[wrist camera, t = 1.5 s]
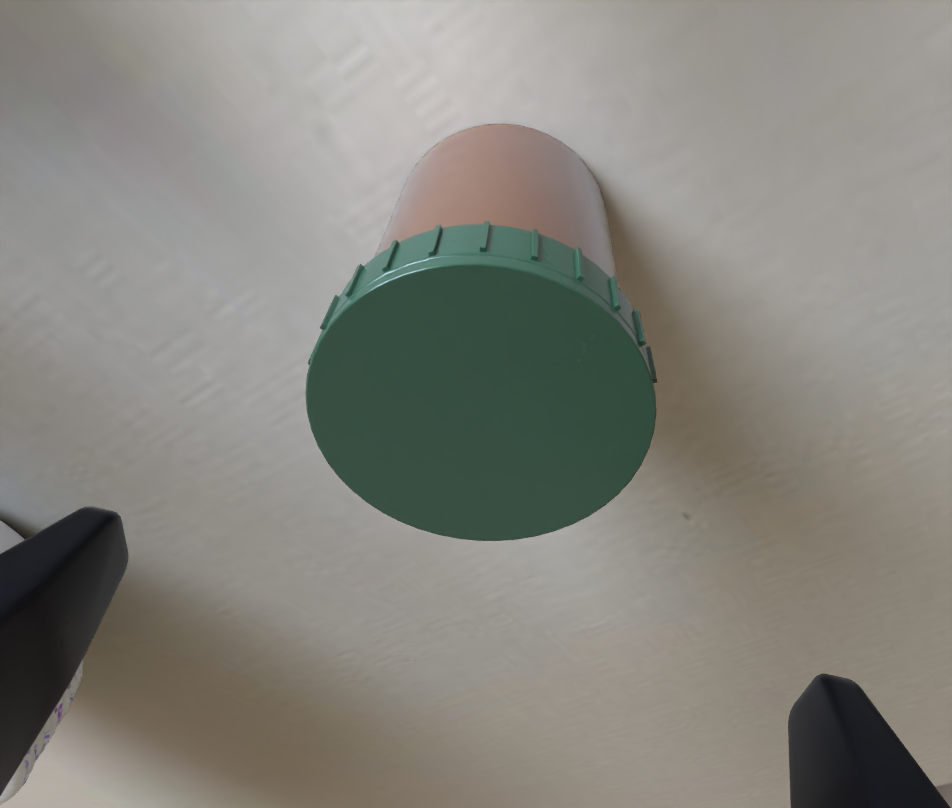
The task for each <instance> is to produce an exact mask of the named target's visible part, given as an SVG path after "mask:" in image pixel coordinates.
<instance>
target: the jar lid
mask: <svg viewBox="0 0 952 808" xmlns="http://www.w3.org/2000/svg"><path fill="white" fill-rule="evenodd" d="M320 328H321V329H323V330H322V333H321V335H320V337H319V339H318V341H317V343H316V346H315V348H314V350H313V352H312V354H311V357H310V359H309V362H308V364H309V365H310V366H309V370H308V374H307V382H306V405H307V414H308V418H309V422H310V426H311V430H312V432H313V435H314V437H315V440H316V442H317V445H318V447H319V449H320V450H321V452H322V454H323V455H324V457H325V459H326V461H327V462H328V464H329V465H330V466H331V467H332V469H333V470H334V471H335V473H336V474H337V475H338V477H339V478H340V479H341V480H342V481H343V482H344V483H345V484H346V485H347V486H348V487H349V488H350V489H351V490H352V491H353V492H355V493H356V494H357V495H358V496H360V497H361V498H362V499H363V500H365V501H366V502H367V503H369V504H370V505H372V506H373V507H375V508H376V509H378V510H380V511H381V512H383V513H385V514H386V515H388V516H390V517H392V518H394V519H396V520H398V521H400V522H403V523H405V524H408V525H410V526H413V527H415V528H418V529H421V530H424V531H427V532H431V533H434V534H438V535H443V536H448V537H453V538H458V539H468V540H478V541H501V540H515V539H522V538H528V537H534V536H538V535H542V534H546V533H549V532H553V531H556V530H559V529H561V528H564V527H567V526H569V525H572V524H574V523H576V522H578V521H580V520H582V519H584V518H586V517H588V516H590V515H591V514H593V513H594V512H596V511H597V510H599V509H600V508H602V507H603V506H605V505H606V504H607V503H608V502H610V501H611V500H612V499H613V498H614V497H615V496H617V495H618V494H619V493H620V492H621V491H622V490H623V488H624V487H625V486H626V485H627V484H628V483H629V482H630V481H631V479H632V478H633V476H634V475H635V473H636V472H637V470H638V469H639V467H640V466H641V464H642V462H643V460H644V458H645V456H646V454H647V452H648V449H649V447H650V443H651V440H652V437H653V433H654V428H655V419H656V397H655V390H654V385H653V383H657V377H656V372H655V367H654V362H653V358H652V353H651V348H650V346H649V347H646V341H645V336H644V331H643V325H642V320H641V315H640V312H639V310H636V311H634V310H633V308H632V306H631V304H630V303H629V301H628V299H627V298H626V296H625V294H624V293H623V292H622V291H621V290H620V288H619V287H618V283H617V278H616V277H615V276H614V275H613V276H612V277H611V278H610V277H609V276H608V275H607V274H606V273H605V272H604V271H603V270H602V269H601V268H600V267H599V266H597V265H596V264H595V263H594V262H592V261H591V260H589V259H588V258H587V257H585V256H584V255H583V254H582V249H580V248H578V247H577V249H576V250H574V249H572V248H571V247H569V246H567V245H565V244H563V243H561V242H559V241H557V240H554V239H552V238H549V237H546V236H543V235H541V234H538V230H537V229H534V228H533V230H532V231H527V230H524V229H519V228H514V227H509V226H499V225H490V221H484V224H474V225H458V226H451V227H444V228H442V226H441V225H436V226H435V229H434V230H431V231H428V232H424V233H421V234H417V235H415V236H412V237H410V238H407V239H405V240H403V241H401V242H398V241H397V239H396V240H394V241H392V243H391V246H390V248H388V249H386V250H385V251H383V252H381V253H380V254H378V255H377V256H376V257H375V258H373V259H372V260H371V261H370V262H368V263H367V264H366V265H365V266H362V265H361V264H360V265H359V266H358V267H357V269H356V271H355V273H354V275H353V278H352V279H351V281H350V282H349V283H348V284H347V286H346V288H345V289H344V291H343V292H342V294H341V295H340V297H338V296H336V295H335V297H334V299H333V301H332V303H331V305H330V307H329V310H328V312H327V314H326V316H325V318H324V320H323V322H322V325H321V327H320Z"/></svg>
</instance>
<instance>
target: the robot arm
mask: <svg viewBox="0 0 952 808" xmlns="http://www.w3.org/2000/svg"><path fill="white" fill-rule="evenodd" d="M127 564H128V548H127V544H126V539H125V534H124V529H123V524H122V520H121V517H120V516H119V515H118V514H117V513H116V512H114V511H109V510H105V509H101V508H96V507H84V508H81V509H79V510H77V511H75V512H73V513H72V514H70V515H68V516H66V517H65V518H63V519H61V520H59V521H58V522H56V523H54V524H52V525H50V526H49V527H47V528H45V529H43V530H42V531H40V532H38V533H36V534H34V535H33V536H31V537H29V538H27V539H26V540H24V541H22V542H20V543H19V544H17V545H15V546H13V547H11V548H10V549H8V550H6V551H4V552H3V553H1V554H0V796H1V794H2V793H3V791H4V790H5V788H6V786H7V785H8V783H9V782H10V780H11V778H12V777H13V775H14V773H15V772H16V770H17V769H18V767H19V765H20V764H21V762H22V761H23V759H24V757H25V756H26V754H27V753H28V751H29V749H30V748H31V746H32V745H33V743H34V741H35V740H36V738H37V736H38V735H39V733H40V732H41V730H42V728H43V727H44V725H45V724H46V722H47V720H48V719H49V717H50V716H51V714H52V712H53V711H54V709H55V708H56V706H57V704H58V703H59V701H60V699H61V698H62V696H63V694H64V693H65V691H66V689H67V688H68V686H69V684H70V683H71V681H72V679H73V677H74V675H75V673H76V671H77V669H78V668H79V666H80V664H81V662H82V660H83V658H84V656H85V653H86V651H87V649H88V647H89V645H90V643H91V641H92V639H93V637H94V635H95V633H96V631H97V629H98V627H99V624H100V622H101V620H102V618H103V616H104V614H105V612H106V610H107V608H108V606H109V604H110V602H111V600H112V598H113V595H114V593H115V591H116V589H117V587H118V585H119V583H120V581H121V579H122V577H123V575H124V573H125V570H126V567H127ZM788 735H789V767H790V799H791V808H950V806H949V805H948V804H947V802H946V801H945V800H944V798H943V797H942V796H941V794H940V793H939V792H938V790H937V789H936V788H935V786H934V785H933V784H932V782H931V781H930V780H929V778H928V777H927V776H926V774H925V773H924V772H923V770H922V769H921V768H920V766H919V765H918V764H917V762H916V761H915V760H914V758H913V757H912V756H911V754H910V753H909V752H908V750H907V749H906V748H905V746H904V745H903V744H902V742H901V741H900V740H899V738H898V737H897V736H896V734H895V733H894V731H893V730H892V729H891V727H890V726H889V725H888V723H887V722H886V721H885V719H884V718H883V717H882V715H881V714H880V713H879V711H878V710H877V709H876V707H875V706H874V705H873V703H872V702H871V701H870V699H869V698H868V697H867V695H866V694H865V693H864V691H863V690H862V689H861V688H860V686H859V685H858V684H856V683H855V682H854V681H852V680H850V679H847V678H842V677H838V676H834V675H829V674H820V675H818V676H816V677H815V678H814V679H813V681H812V682H811V683H810V684H809V686H808V687H807V688H806V690H805V691H804V692H803V693H802V695H801V696H800V697H799V699H798V700H797V701H796V702H795V704H794V705H793V707H792V709H791V711H790V715H789V721H788Z"/></svg>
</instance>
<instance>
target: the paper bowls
mask: <svg viewBox="0 0 952 808" xmlns="http://www.w3.org/2000/svg"><path fill="white" fill-rule="evenodd" d="M24 540H25V539H24V538H22V537H21V536H20V535H19V534H18V533H16V532H15V531H14V530H13V529H11V528H10V527H9V526H7V525H6V524H5V523H3V522H2V521H0V554H1V553H3V552H4V551H6V550H8V549H10V548H11V547H13V546H15V545H17V544H19V543H20V542H22V541H24ZM82 670H83V660H82V662H81V664H80V666H79V668H78V669H77V671H76V673H75V675H74V677H73V679H72V681H71V683H70V684H69V686H68V688H67V689H66V691H65V693H64V694H63V696H62V698H61V699H60V701H59V703H58V704H57V706H56V708H55V709H54V711H53V712H52V714H51V716H50V717H49V719H48V720H47V722H46V724H45V725H44V727H43V728H42V730H41V732H40V733H39V735H38V736H37V738H36V740H35V741H34V743H33V745H32V746H31V748H30V749H29V751H28V753H27V754H26V756H25V757H24V759H23V761H22V762H21V764H20V765H19V767H18V769H17V770H16V772H15V773H14V775H13V777H12V778H11V780H10V782H9V783H8V785H7V786H6V788H5V790H4V791H3V793H2V794H1V796H0V805H2V804H3V803H5V802H6V801H8V800H9V799H10V798H12V797H13V796H14V795H15V794H16V793H17V792H18V791H19V790H20V788H21V787H22V786H23V785H24V784H25V783H26V780H27V779H28V777H29V774H30V772H31V770H32V768H33V766H34V763H35V761H36V760H37V758H38V757H39V755H40V754H41V753H42V752H43V750H44V748H45V746H46V745H47V743H48V742H49V741H50V739H51V737H52V736H53V734H54V732H55V729H56V727H57V725H58V724H59V723H60V721H61V719H62V718H63V716H64V715H65V714H66V711H67V709H68V707H69V705H70V703H71V702H72V700H73V697H74V694H75V692H76V690H77V689H78V687H79V685H80V682H81V679H82Z"/></svg>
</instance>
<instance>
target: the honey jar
mask: <svg viewBox="0 0 952 808" xmlns="http://www.w3.org/2000/svg"><path fill="white" fill-rule="evenodd" d="M484 221H490V225H499V226H509V227H514V228H519V229H524V230H527V231H532V230H533V228H534V229H537V230H538V234H541V235H543V236H546V237H549V238H552V239H554V240H557V241H559V242H561V243H563V244H565V245H567V246H569V247H571V248H572V249H574V250H576V249H577V247H578V248H580V249H582V254H583V255H584V256H585V257H587V258H588V259H589V260H591V261H592V262H594V263H595V264H596V265H597V266H599V267H600V268H601V269H602V270H603V271H604V272H605V273H606V274H607V275H608V276H609V277H610V278H611V277H612V276H613V275H614V276H615V277H616V271H615V265H614V258H613V252H612V246H611V240H610V234H609V227H608V221H607V215H606V209H605V205H604V200H603V196H602V194H601V191H600V188H599V186H598V183H597V182H596V180H595V178H594V176H593V174H592V173H591V171H590V170H589V168H588V167H587V166H586V164H585V163H584V162H583V161H582V159H581V158H580V157H579V156H578V155H576V154H575V153H574V152H573V151H572V150H571V149H570V148H569V147H567V146H566V145H565V144H563V143H562V142H561V141H559V140H557V139H555V138H553V137H552V136H550V135H548V134H546V133H543V132H540V131H538V130H535V129H532V128H528V127H524V126H520V125H510V124H489V125H483V126H477V127H473V128H469V129H466V130H463V131H460V132H458V133H456V134H454V135H452V136H449V137H447V138H446V139H444V140H443V141H441V142H440V143H438V144H437V145H435V146H434V147H433V148H432V149H431V150H429V151H428V152H427V153H426V154H425V155H424V156H423V157H422V158H421V160H420V161H419V162H418V163H417V164H416V165H415V167H414V169H413V170H412V172H411V173H410V175H409V176H408V178H407V181H406V183H405V185H404V187H403V189H402V192H401V194H400V197H399V199H398V201H397V204H396V206H395V209H394V211H393V213H392V216H391V218H390V221H389V223H388V225H387V228H386V230H385V233H384V235H383V237H382V240H381V242H380V245H379V247H378V250H377V252H376V254H375V257H376V256H377V255H378V254H380V253H381V252H383V251H385V250H386V249H388V248H390V246H391V243H392V241H394V240H396V239H397V241H398V242H401V241H403V240H405V239H407V238H410V237H412V236H415V235H417V234H421V233H424V232H428V231H431V230H434V229H435V226H436V225H441V226H442V228H444V227H451V226H458V225H474V224H484ZM375 257H374V258H375ZM616 278H617V277H616Z"/></svg>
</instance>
